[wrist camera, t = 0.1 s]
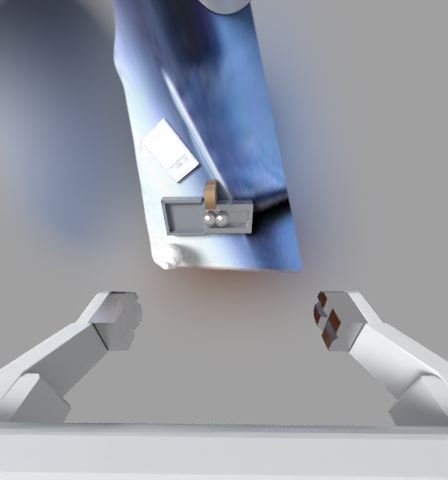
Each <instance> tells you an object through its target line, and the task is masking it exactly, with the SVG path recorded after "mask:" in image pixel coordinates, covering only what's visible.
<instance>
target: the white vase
mask: <svg viewBox="0 0 448 480" xmlns="http://www.w3.org/2000/svg"><path fill="white" fill-rule="evenodd" d="M182 259H183V254H182V251H181V249H180V248H179V246H177V245H176V244H175V243H168V244H165V245H162V246H161V247H160V248H159V249H158V250H157V252H156V260H157V263H158V264H159V265H160V266H161V267H162V268H163V269H173V268H176V267H178V266H179V265H180V264H181V262H182Z"/></svg>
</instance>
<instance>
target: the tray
mask: <svg viewBox="0 0 448 480" xmlns="http://www.w3.org/2000/svg"><path fill="white" fill-rule="evenodd" d="M161 204H162V209H163V214H164V220H165V225H166V230H167V235H204V234H203V226H204V223H203V211H202V209H201V204H202V197H163V198H162V200H161Z"/></svg>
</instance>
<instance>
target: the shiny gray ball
mask: <svg viewBox="0 0 448 480" xmlns="http://www.w3.org/2000/svg"><path fill="white" fill-rule="evenodd" d="M215 220H216V215H215V213H214V212H211V211H208V212H206V213H205V215H204V219H203V223H204V225H206V226H208V227H211V226H213V225H214V224H215Z"/></svg>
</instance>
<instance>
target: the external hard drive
mask: <svg viewBox="0 0 448 480" xmlns="http://www.w3.org/2000/svg"><path fill="white" fill-rule="evenodd" d="M141 144H142V145H143V146H144V147H145V148H146V149H147V150H148V151H149V153H150V154H151V155H152V156H153V157H154V158H155V159H156V160H157V162H158V163H159V164H160V165H161V166H162V167H163V168H164V169H165V171H166V172H167V173H168V174H169V175H170V176H171V177H172V179H173V180H174V181H175V182H176V183H177V182H178V181H179V180H181V179H182V178H183V177H184V176H185V175H187V174H188V173H189V172H190V171H191V170H193V169H194V168H195V167H196V166H197V165H198V164H199V162H198V160H197V159H196V158H195V157H194V155H193V154H192V153H191V151H190V150H189V149H188V148H187V146H186V145H185V144H184V143H183V141H182V140H181V139H180V137H179V136H178V135H177V134H176V132H175V131H174V130H173V129H172V127H171V126H170V125H169V123H168V122H167V121H166V120H165V119H163V120H162V121H161V122H160V123H159V124H158V125H157V126H156V127H155V128H154V129H153V130H152V131H151V132H150V133H149V134H148V135H147V136H146V137H145V138H144V139H143V140H142V141H141Z"/></svg>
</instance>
